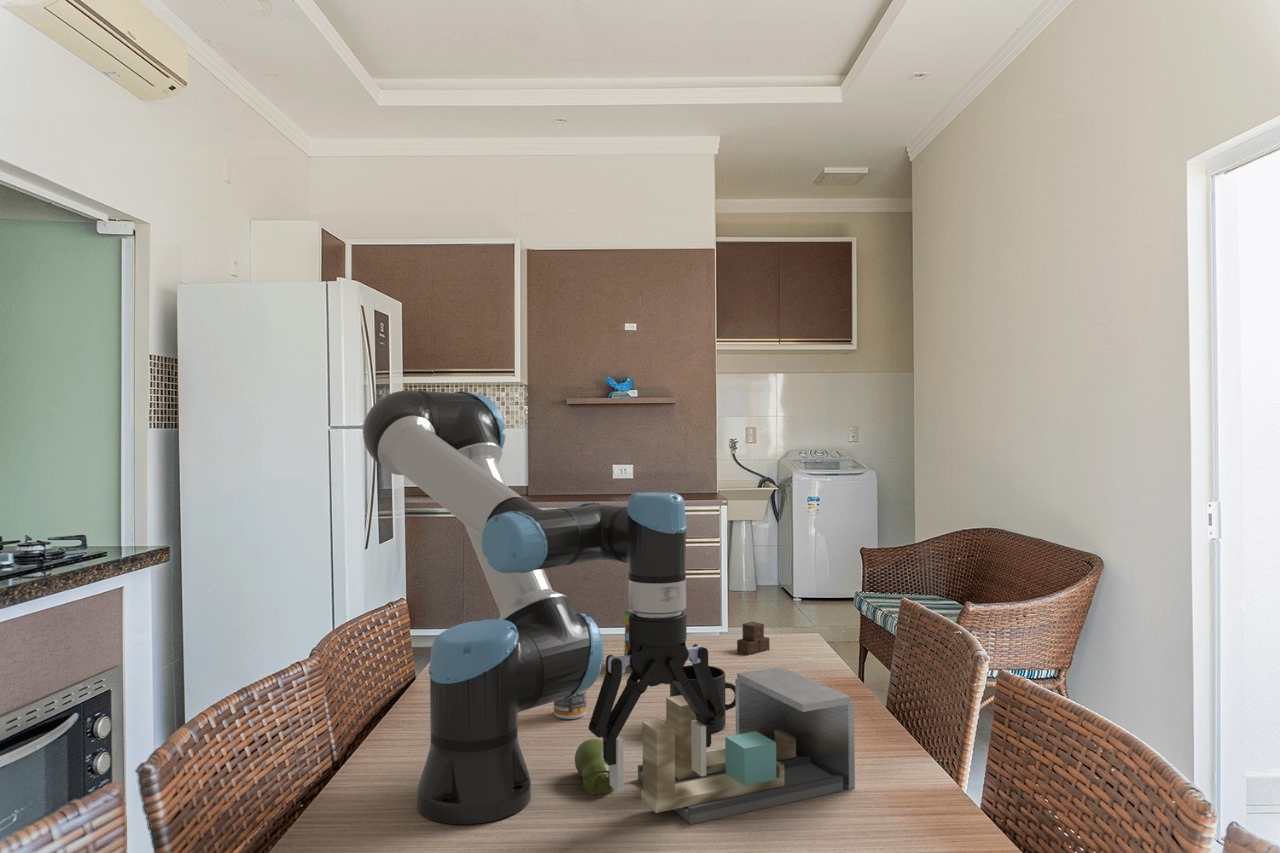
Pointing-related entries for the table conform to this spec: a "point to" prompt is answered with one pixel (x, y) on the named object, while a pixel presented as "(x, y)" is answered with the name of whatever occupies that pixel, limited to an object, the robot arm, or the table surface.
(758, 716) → the grey open box shape
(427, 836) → the table surface
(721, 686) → the mug
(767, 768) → the block
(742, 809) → the lane board
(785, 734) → the strip far
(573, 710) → the pill bottle
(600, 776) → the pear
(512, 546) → the robot arm
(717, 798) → the wooden l-shaped bracket
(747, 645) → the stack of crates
